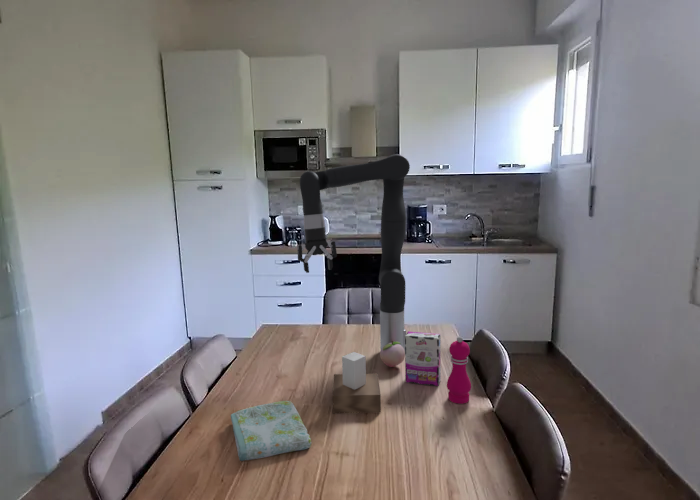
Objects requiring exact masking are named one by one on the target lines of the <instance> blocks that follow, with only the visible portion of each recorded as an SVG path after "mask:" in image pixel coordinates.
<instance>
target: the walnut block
mask: <svg viewBox="0 0 700 500" xmlns="http://www.w3.org/2000/svg"><path fill="white" fill-rule="evenodd" d="M379 381H380V379H379V374H378V373H366V384H365V385H363V386H361V387H359V388H357V389H355V390H354V389H352V388H349V387H347V386H345V385H343V373H341V374H338V373H337V374H336V373H335V374H333V384H332V393H331V394H332V397H331V398H332V399H331V400H332V414H374V413H375V414H378V413H379V412H381V413H382V402H381V401H382V400H381V399H382V398H381V397H382V396H381V395H382V394H381V388H380V382H379ZM379 414H380V413H379Z"/></svg>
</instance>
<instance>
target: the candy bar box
mask: <svg viewBox="0 0 700 500" xmlns="http://www.w3.org/2000/svg"><path fill="white" fill-rule="evenodd" d="M441 338H442V337H441V333H433V332H419V331H406V335H405V357H404V360H405V363H404V364H405V374H404V375H405V376H404V377H405V383H409V384H415V385H424V386H435V387H439V385H440V382H441V377H442V375H441V373H442V372H441V365H442V364H441V350H442V349H441V347H442V345H441Z"/></svg>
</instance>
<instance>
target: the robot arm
mask: <svg viewBox="0 0 700 500" xmlns="http://www.w3.org/2000/svg"><path fill="white" fill-rule="evenodd" d="M410 166H411V165H410V162H409V160H408V158H407V157H405V156H404V155H401V154H400V153H399V154H398V153H396V154H395V153H394V154H390V155H388V156H387V157H386V158H383V159H379V160H376V161H372V162H367V163H360V164H351V165H342V166H337V167H331V168H328V169H326V170H322V171H321V170H320V171H315V172H314V171H311V170H309V171H305V172H303V173H302V174H301V176H300V177H299V188H300V189H299V190H300V193H301V198H302V212H303V230H304V239H305V244H297V246H296V248H297V251H296V252H297V260H298V262H301V263H303V270H304V272H305V273H306V274H308V273H310V268H309V267H310V266H309V260H310V258H311V257H312V256H317V255H324V256H325V257H326V258H327V269H328V270H329V271H332V269H333V268H334V263H333V259H335V258H337V257H338V253H337V245H336V242H335V241H333V240H331V241H327V236H326V235H327V233H326V226H325V225H326V224H325V218H324V212H323V203H322V200H321V190H326V189H331V188H340V187H346V186H350V185H355V184H360V183H364V182H370V181H378V180H383V181H382V183H383V195H382V196H383V197H382V205H381V216H380V245H381V258H380V259H381V261H380V268H379V273H378V274H379V275H378V281H379V282H378V283H379V284H380V303H379V322H380V323H379V327H380V330H379V331H380V332H379V333H380V334H379V335H380V339H379V341H380V347H379V348H380V350H381V349H382V348H383V347H384V346H385V345H387V344H389V343H392V341H393V342H395V341H396V342H400V343H401V344H399V345H401V346H402V347H403V348H404V350H405V335H406V334H407V329H406V328H405V305H406V278H405V275H403V272H402V262H401V259H402V250H403V246H404V243H405V242H404V241H405V238H406V237H405V236H406V230H407V229H406V228H407V226H406V225H407V217H406V216H407V215H406V206H405V199H404V185H405V184H404V183H405V178H406V176H408V174H409V172H410V168H411V167H410ZM328 247H329V248H331V249H330V251H331V254H330V252H329V251H328V250H327V248H328ZM304 249H306V254H305V255H304V258H303V251H304Z"/></svg>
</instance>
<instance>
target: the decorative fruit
mask: <svg viewBox="0 0 700 500" xmlns="http://www.w3.org/2000/svg"><path fill="white" fill-rule="evenodd" d="M399 344H401V343H400V342H396V341H395V342H393V341H392V343H389V344H387V345H385V346H384V347H383V348H382V349H381V348H380V351H379V357H380V360H381V362H383V364H385V366H387V367H390V368H394V367H396V366H398V365H400V364H402V363H403V362H404V360H405V350H404V348H403V347H402V346H401V345H399Z"/></svg>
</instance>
